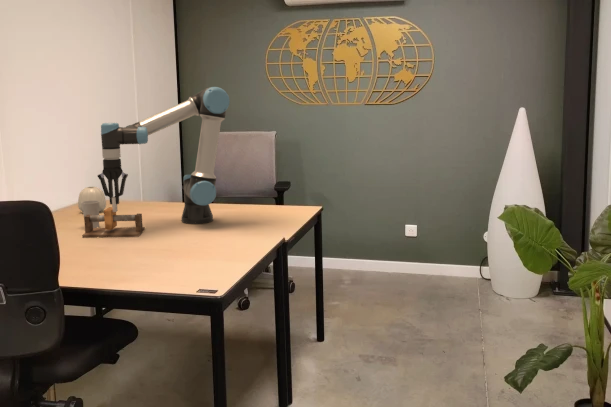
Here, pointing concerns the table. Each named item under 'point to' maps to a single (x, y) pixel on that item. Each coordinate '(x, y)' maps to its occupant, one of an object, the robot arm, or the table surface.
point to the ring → (109, 219)
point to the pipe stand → (115, 232)
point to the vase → (92, 197)
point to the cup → (91, 209)
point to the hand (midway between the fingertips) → (115, 211)
